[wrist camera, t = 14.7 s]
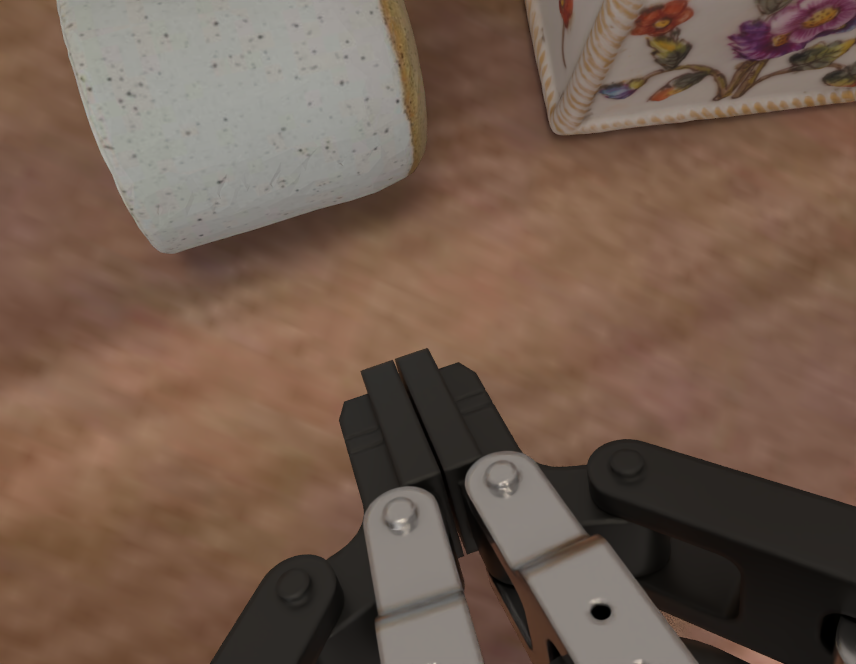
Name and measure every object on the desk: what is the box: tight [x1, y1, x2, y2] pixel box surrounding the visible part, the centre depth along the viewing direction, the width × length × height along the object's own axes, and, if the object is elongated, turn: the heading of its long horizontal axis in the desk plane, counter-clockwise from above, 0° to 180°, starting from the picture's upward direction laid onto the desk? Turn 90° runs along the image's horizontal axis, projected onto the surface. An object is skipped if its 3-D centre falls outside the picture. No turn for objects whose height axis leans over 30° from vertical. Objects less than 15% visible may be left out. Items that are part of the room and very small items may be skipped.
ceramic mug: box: [57, 0, 427, 254], centre depth 21 cm, size 11×8×8 cm
